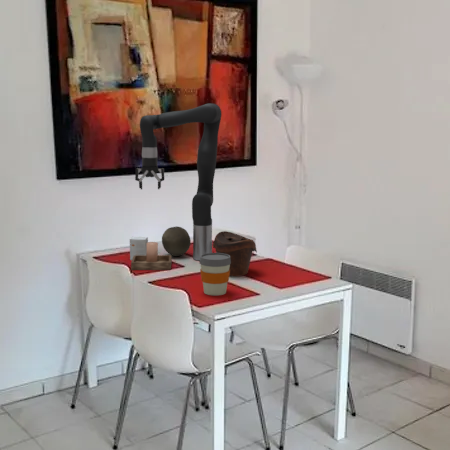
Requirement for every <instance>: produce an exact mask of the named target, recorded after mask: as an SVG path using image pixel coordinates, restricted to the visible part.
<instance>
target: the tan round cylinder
mask: <svg viewBox="0 0 450 450" xmlns="http://www.w3.org/2000/svg"><path fill="white" fill-rule="evenodd" d="M158 244H159V243H158V242H157V241H148V242H147V253H146V262H158V253H159V251H158V249H159V248H158V246H159V245H158Z"/></svg>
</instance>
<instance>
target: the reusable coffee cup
mask: <svg viewBox="0 0 450 450" xmlns="http://www.w3.org/2000/svg"><path fill="white" fill-rule="evenodd" d="M199 264H200V271H199V272H200V278H201V279H200V281H201V282H202V286H203V287H202V288H203V293H204V294H205V295H208V296H222V295H225V294H227V287H228V282H229V281H230V280H229V279H230V276H229V275H230V269H229V267H230V264H231V259H230V255H228V254H224V253H216V252H212V253H206V254H202V255H201V256H200V261H199Z"/></svg>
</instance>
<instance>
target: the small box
mask: <svg viewBox="0 0 450 450" xmlns="http://www.w3.org/2000/svg"><path fill="white" fill-rule="evenodd" d="M147 242H149V237H148V236H132V237H130V238H129V260H130V261H132V259H133V256H134V255H146V253H147Z"/></svg>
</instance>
